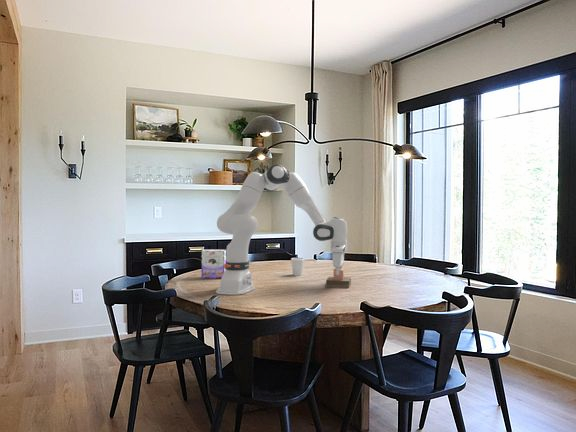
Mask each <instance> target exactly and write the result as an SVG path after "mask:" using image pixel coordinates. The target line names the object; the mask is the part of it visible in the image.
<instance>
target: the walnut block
mask: <svg viewBox="0 0 576 432" xmlns="http://www.w3.org/2000/svg"><path fill="white" fill-rule="evenodd" d="M351 284H352V277H351V276H344V279H343V280H335V279H334V276H328V277H327V279H326V280H325V287H326V288H339V289H341V288H345V289H350V287H351Z"/></svg>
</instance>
